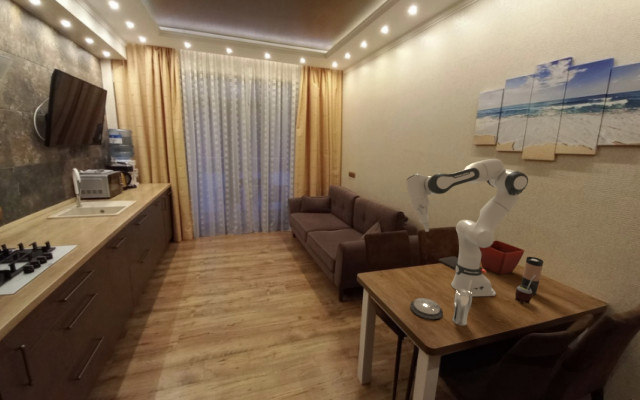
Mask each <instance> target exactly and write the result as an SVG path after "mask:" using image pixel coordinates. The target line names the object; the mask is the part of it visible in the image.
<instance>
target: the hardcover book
mask: <svg viewBox="0 0 640 400" xmlns="http://www.w3.org/2000/svg"><path fill="white" fill-rule="evenodd" d="M437 262H439V263H441V264H442V265H444V266H446V267H449V268H450V269H452V270H454V271H456V265H457V262H458V257H456V256H455V255H454V256H448V257H447V256H446V257H443V258H438V260H437Z"/></svg>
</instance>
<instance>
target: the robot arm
mask: <svg viewBox="0 0 640 400" xmlns="http://www.w3.org/2000/svg"><path fill="white" fill-rule="evenodd" d="M484 182H486V183H487V184H488V185H489V186H491V187H492V188H495V189H497V191H496V192H495V194H494V195H493V196H492V197H491V198H490V199H489V200H488V202H486V203H485V204H484V205H483V207H481V209H480V210H479V216H478V218H477V221H476V222H475V221H473V220H472V219H462V220H459V221H458V222H457V223H456V225H455V230H456V233H457V236H458V237H457V238H458V246H459V249H458V257H457V258H458V262H457V265H456V270H455V275H454V276H453V280H452V281H451V284H450V286H451V287H452V288H453V289H455V291H456V290H457V289H465V290H468V291H470V292H471V293H472V297H494V296H496V295H497V294H496V291H495V290H494V289H493V288H492V283H491V280H490V279H489V278H488V277H486V275H484V274H487V269H486V268H483V267H482V266H481V251H480V249H479V247H482V248H487V247H489V246H491V245H492V244H493V242H494V241H495V232H496V229H497V227H498V226H499V224H500V223H501V222H502V221H503V219H505V217H506V216H507V215H508V214H509V213H510V212H512V209H514V207H515V206H517V205H516V204H517V203H518V202H519V200H520V194H521V193H523V191H524V190H525V189H526V188H527V186H528V185H529V184H528V183H529V178H528V175H527V174H525V173H523V172H521V171H518V170H514V169H508V168H505V165H504V162H502V160H500V159H499V158H489V159H484V160H483V159H482V160H479V161H475V162H472V163H471V164H468V165H466V166H465V167H463V170H460V171H456V172H452V173H442V172H441V173H438V172H437V173H436V174H434V175H432V176H429V175H424V174H421V173H415V174H413V175H410V176H409V177H408V178H406V182H405V183H406V190H407V193H408V195H409V198H410V199H409V200H410V203H411V204H410V205H411V208H412V210H415V212H416V213H417V215H418V219H419V222H420V224H421V225H422V226H423V228H424V231H425V232H429V231H430V225H429V219H430V215H429V207H430V206H431V204H430V201H429V198H428V196H429V195H430V196H435V195H443V194H445V193H448V191H450V190H451V189H452V188H454V187H455V186H459V185H462V184H466V183H468V184H470V185H474V184H475V185H476V184H479V183H484Z"/></svg>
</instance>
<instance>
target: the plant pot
mask: <svg viewBox="0 0 640 400" xmlns="http://www.w3.org/2000/svg"><path fill="white" fill-rule="evenodd" d="M479 249H480V251H481V262H480V265H481V268H483V269H485V270H488V271H490V272H492V273H495V274H497V275H500V276H501V275H503V274H504V275H505V274H510V273H512V272H513V271H514V270H515V269H516V268H517V266H518V265H519V263H520V261H521V260H522V257H523V256H524V253H525V249H522V248H519V247H517V246H514V245H512V244H509V243H506V242H504V241H500V240H494V242H493V244H492V245H491V246H489V247H487V248H482V247H479Z"/></svg>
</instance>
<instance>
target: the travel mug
mask: <svg viewBox="0 0 640 400" xmlns="http://www.w3.org/2000/svg"><path fill="white" fill-rule="evenodd" d="M525 259H526V260H525V263H524V269H523V274H522V279H521V282H520V283H521V285H522V286H527V287H528V285H529V283H530V281H531V279H532V278H533V277H534V276H535V275H536V276H535V277H534V278H533V280H532V282H531V284H530V286H529V288H530V289H531V290H532V296H536V295H537V290H538V287H539V284H540V280H541V275H542V271H543V265H544V260H543V259H541V258H539V257H535V256H527V257H526V258H525Z"/></svg>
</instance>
